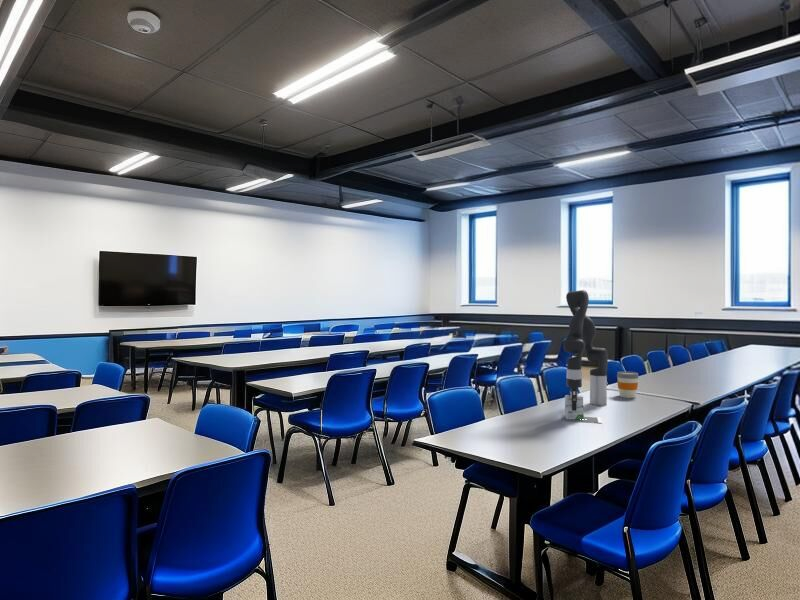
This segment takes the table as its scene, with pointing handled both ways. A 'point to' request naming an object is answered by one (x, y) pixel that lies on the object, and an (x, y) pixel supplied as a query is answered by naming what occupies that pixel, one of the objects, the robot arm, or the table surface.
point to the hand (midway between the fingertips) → (574, 408)
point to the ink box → (579, 408)
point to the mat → (589, 419)
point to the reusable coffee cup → (627, 384)
